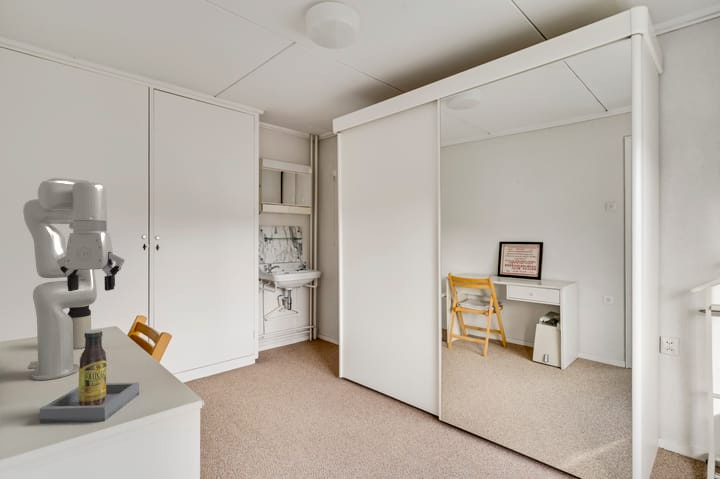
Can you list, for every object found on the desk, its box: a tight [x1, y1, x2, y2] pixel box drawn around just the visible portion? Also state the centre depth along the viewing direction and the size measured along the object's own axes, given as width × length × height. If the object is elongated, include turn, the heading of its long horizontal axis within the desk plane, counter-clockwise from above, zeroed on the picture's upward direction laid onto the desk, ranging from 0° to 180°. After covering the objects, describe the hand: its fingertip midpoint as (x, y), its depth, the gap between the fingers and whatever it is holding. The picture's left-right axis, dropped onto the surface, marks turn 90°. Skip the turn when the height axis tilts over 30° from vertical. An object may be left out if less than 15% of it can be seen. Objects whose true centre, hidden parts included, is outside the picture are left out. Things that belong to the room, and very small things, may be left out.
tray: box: [39, 381, 140, 424], centre depth 103 cm, size 16×16×4 cm
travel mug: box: [67, 305, 92, 350], centre depth 160 cm, size 8×8×18 cm
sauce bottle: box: [78, 329, 108, 406], centre depth 103 cm, size 7×6×20 cm
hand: (91, 290), depth 103 cm, fingers open, 9 cm apart
